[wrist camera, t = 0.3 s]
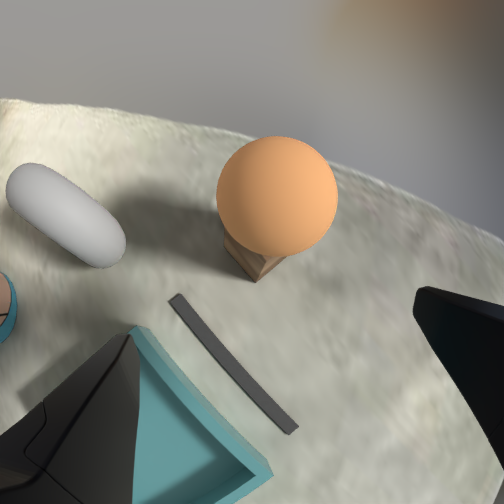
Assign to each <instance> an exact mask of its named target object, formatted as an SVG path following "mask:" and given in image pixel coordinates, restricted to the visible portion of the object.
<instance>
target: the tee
mask: <svg viewBox="0 0 504 504" xmlns="http://www.w3.org/2000/svg"><path fill="white" fill-rule="evenodd" d="M224 247H225V248H226V250H227V251H228V252H229V253H230V254H231V255H232V257H233V258H234V259H235V260H236V261H237V262H238V264H239V265H240V266H241V267H242V268H243V269H244V270H245V272H246V273H247V274H248V275H249V276H250V277H251V278H252V280H253V281H254V282H255V283H256V282H257V281H258V280H260V279H261V278H262V277H263V276H264V275H266V274H267V273H268V272H269V271H270V270H272V269H273V268H274V267H275V266H276V265H278V264H279V263H280V262H281V261H282V260H283V259H285V258H286V257H287V256H283V257H272V256H266V255H262V254H258V253H255V252H253V251H251V250H249V249H247V248H245V247H244V246H242V245H241V244H240V243H238V242H237V241H236V240H235V239H234V238H233V237H232V236H231V235H230V233H229V232H228V231H227V229H226V228H225V232H224Z"/></svg>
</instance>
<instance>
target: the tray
mask: <svg viewBox="0 0 504 504" xmlns="http://www.w3.org/2000/svg"><path fill="white" fill-rule="evenodd" d="M127 334H131V335H132V337H133V339H134V343H135V346H136V348H137V351H138V354H139V358H140V409H139V419H138V429H137V439H136V450H135V462H134V478H133V498H132V504H234V503H235V502H237V501H238V500H240V499H241V498H243V497H244V496H246V495H247V494H249V493H250V492H252V491H253V490H255V489H256V488H257V487H259V486H260V485H262V484H263V483H264V482H266V481H267V480H269V479H270V478H271V477H273V476H274V475H273V473H272V470H271V468H270V466H269V464H268V461H267V459H266V458H265V457H263V456H262V455H261V454H260V453H259V452H258V451H257V450H256V449H255V448H254V447H253V446H252V445H251V444H250V443H249V442H248V441H247V440H246V439H245V438H244V437H243V436H241V435H240V434H239V433H238V432H237V431H236V430H235V429H234V428H233V426H232V425H231V424H230V423H229V422H228V421H227V420H226V419H225V418H224V417H223V416H222V415H221V414H220V413H219V412H218V411H217V410H216V409H215V408H214V407H213V406H212V404H211V403H210V402H209V401H208V400H207V399H206V398H205V397H204V396H203V395H202V393H201V392H200V391H199V390H198V389H197V388H196V387H195V385H194V384H193V383H192V382H191V381H190V380H189V379H188V377H187V376H186V375H185V374H184V373H183V371H182V370H181V369H180V368H179V367H178V365H177V364H176V363H175V362H174V361H173V359H172V358H171V357H170V356H169V354H168V353H167V352H166V351H165V349H164V348H163V347H162V346H161V344H160V343H159V342H158V340H157V339H156V338H155V337H154V335H153V334H152V333H151V331H150V330H149V329H148V328H144V327H140V326H137V325H136V326H135V327H134V328H133V329H132V330H130V331H129V332H128V333H127Z"/></svg>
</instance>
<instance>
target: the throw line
mask: <svg viewBox="0 0 504 504" xmlns="http://www.w3.org/2000/svg"><path fill="white" fill-rule="evenodd" d="M171 304H172V305H173V306H174V308H175V309H176V310H177V311H178V313H179V314H180V315H181V316H182V318H183V319H184V320H185V321H186V323H187V324H188V325H189V326H190V328H191V329H192V330H193V331H194V333H195V334H196V335H197V336H198V337H199V339H200V340H201V341H202V342H203V343H204V345H205V346H206V347H207V348H208V349H209V350H210V352H211V353H212V354H213V355H214V356H215V357H216V359H217V360H218V361H219V362H220V363H221V364H222V365H223V367H224V368H225V369H226V370H227V371H228V372H229V373H230V375H231V376H232V377H233V378H234V379H235V380H236V381H237V382H238V383H239V384H240V386H241V387H242V388H243V389H244V390H245V391H246V392H247V393H248V394H249V395H250V396H251V397H252V398H253V399H254V401H255V402H256V403H257V404H258V405H259V406H260V407H261V408H262V409H263V410H264V411H265V412H266V413H267V414H268V415H269V416H270V417H271V418H272V419H273V420H274V421H275V422H276V423H277V424H278V425H279V426H280V427H281V428H282V429H283V430H284V431H285V432H286V433H287V434H288V435H290V434H291V433H292V432H293V431H294V430H295V429H297V428H298V427H299V426H298V425H297V424H296V423H295V422H294V421H293V420H292V419H291V418H290V417H289V416H288V415H287V414H286V413H285V412H284V411H283V410H282V409H281V408H280V407H279V405H278V404H277V403H276V402H275V401H274V400H273V399H272V398H271V397H270V396H269V395H268V394H267V393H266V392H265V391H264V390H263V389H262V388H261V386H260V385H259V384H258V383H257V382H256V381H255V380H254V379H253V378H252V377H251V376H250V375H249V373H248V372H247V371H246V370H245V369H244V368H243V367H242V366H241V365H240V363H239V362H238V361H237V360H236V359H235V358H234V357H233V356H232V354H231V353H230V352H229V351H228V350H227V349H226V347H225V346H224V345H223V344H222V343H221V342H220V341H219V339H218V338H217V337H216V336H215V335H214V333H213V332H212V331H211V330H210V329H209V328H208V326H207V325H206V324H205V323H204V321H203V320H202V319H201V318H200V317H199V315H198V314H197V313H196V312H195V311H194V309H193V308H192V307H191V306H190V304H189V303H188V302H187V301H186V299H185V298H184V297H183V296H182V294H180V295H178V296H177V297H176V298H175V299H173V300H172V301H171Z"/></svg>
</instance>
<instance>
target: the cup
mask: <svg viewBox="0 0 504 504" xmlns="http://www.w3.org/2000/svg"><path fill="white" fill-rule="evenodd" d="M16 312H17V300H16V293H15V290H14V287H13V284H12V282H11V281H10V280H9V278H8V277H7V276H6V275H5V274H3V273H1V272H0V343H2V342H3V341H4V340H5V339H6V338H7V337H8V336H9V334H10V332H11V331H12V329H13V326H14V323H15V319H16Z"/></svg>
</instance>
